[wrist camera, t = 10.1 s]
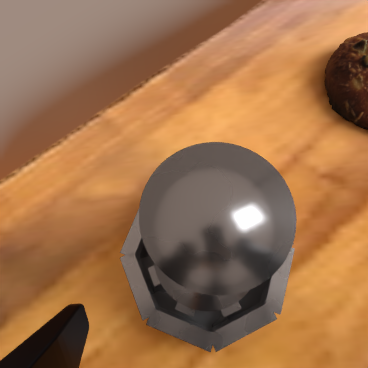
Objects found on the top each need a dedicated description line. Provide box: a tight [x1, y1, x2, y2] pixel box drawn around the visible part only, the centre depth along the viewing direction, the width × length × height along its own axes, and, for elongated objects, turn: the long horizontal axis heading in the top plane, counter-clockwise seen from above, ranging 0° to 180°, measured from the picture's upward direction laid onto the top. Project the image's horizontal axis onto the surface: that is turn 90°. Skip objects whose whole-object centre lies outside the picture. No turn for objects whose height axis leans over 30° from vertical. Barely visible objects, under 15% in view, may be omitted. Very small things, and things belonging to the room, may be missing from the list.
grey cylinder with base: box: [139, 142, 296, 317], centre depth 13 cm, size 8×8×13 cm
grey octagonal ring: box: [120, 210, 294, 352], centre depth 19 cm, size 11×11×2 cm
